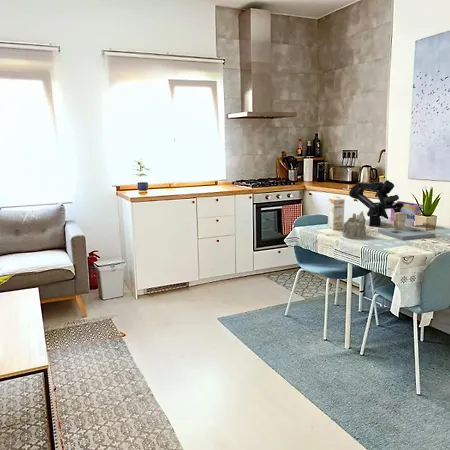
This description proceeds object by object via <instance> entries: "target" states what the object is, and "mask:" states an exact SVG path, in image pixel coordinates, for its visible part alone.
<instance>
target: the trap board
mask: <svg viewBox="0 0 450 450" xmlns="http://www.w3.org/2000/svg"><path fill="white" fill-rule="evenodd" d="M393 228H394V227H388V228H378V229H377V233H379V234H382V235H385V236H389V237H392V238H395V239H399V240H401V241H407V240H415V239H416V240H417V239H425V238H435V237H436V233H435V232H431V231H429V230H424V229H421V228H416V227H414V226H405V230H395V229H393Z"/></svg>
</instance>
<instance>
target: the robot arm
mask: <svg viewBox="0 0 450 450" xmlns="http://www.w3.org/2000/svg"><path fill="white" fill-rule="evenodd" d="M394 188H395V184H394V183H393V181H392V182H391V181H390V180H387V179H386V180H385V181H384V182H383V181H377V182H366V181H365V182H364V181H359V182H357V183H356V184H355V185H354V186H352V187H351V188H350V190H349V192H348V194H349V197H350V198H352V199H355V200H358V201H359V202H360V203H362V204H363V205H364V206H365V207H366V208H367V209H368V211H367V212H366V214H367V215H366V216H367V217H369V224H368V226H370V227H380V226H381V225H382V224H381V223H382V218H381V217H383V218H385V219H386V220H388V219H389V216H388V214H387V212H386V210H391V209H393V210H394V212H395V213H398V212H401V208H402V207H403V206H404V205H403V203H401V202H400V203H396V204H395V205H392V204H394V202H397V201H399V199H400V196H399V194H394V195H389V194H390V193H391V191H392V190H394ZM365 189H368V190H370V191H372V192H376V193H375V194H374V197H375V198H378V200H379V202H378V201H377V202H374V201H372V200H371V199H369V197H367V196H366V195H365V194H364V192H365ZM388 195H389V196H388Z"/></svg>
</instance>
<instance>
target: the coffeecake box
mask: <svg viewBox="0 0 450 450" xmlns="http://www.w3.org/2000/svg"><path fill="white" fill-rule="evenodd" d="M345 203H346V202H345V198H342V197H341V196H328V205H327V206H328V208H327V209H328V210H327V211H328V212H327V226H328V227H329V228H330V229H332V230H334V231H335V230H336V231H337V230H339V231H340V230H342V231H344V224H345V223H344V222H345V221H344V220H345Z"/></svg>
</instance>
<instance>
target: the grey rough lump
mask: <svg viewBox="0 0 450 450" xmlns="http://www.w3.org/2000/svg"><path fill="white" fill-rule="evenodd" d="M366 222H367V220H366V218H365V215H364V211H361V212H360V213H359V214H356V213H353V214H352V217H349V218H348V219H347V221H345V223H344V228H343V229H344V230H342V233H341V235H342V237H343V238H345V239H346V238H348V239H352V240H353V239H363V238H365V237H367V231H366Z"/></svg>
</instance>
